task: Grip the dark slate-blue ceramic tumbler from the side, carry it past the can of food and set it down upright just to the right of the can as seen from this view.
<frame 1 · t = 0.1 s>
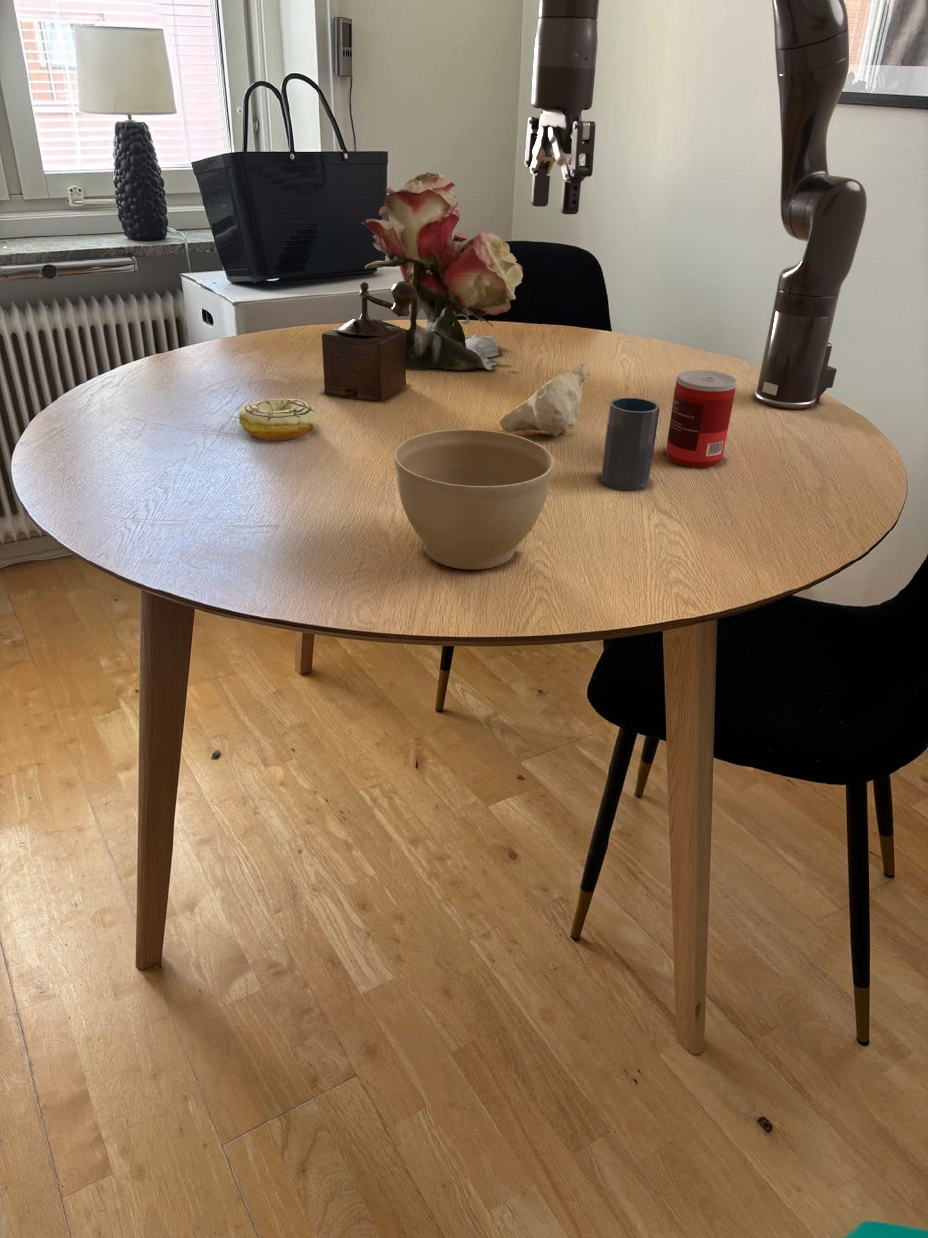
hand: (553, 209, 118), 29 cm above the table, tool pointing down, fingers open, 8 cm apart
tumbler: (624, 481, 115), on the table
manual coffee grinder: (379, 393, 145), on the table
rose bouquet: (438, 353, 168), on the table
decorated donut: (280, 432, 128), on the table
canned food: (693, 459, 124), on the table
cream rock: (549, 427, 134), on the table
planter bowl: (470, 553, 97), on the table
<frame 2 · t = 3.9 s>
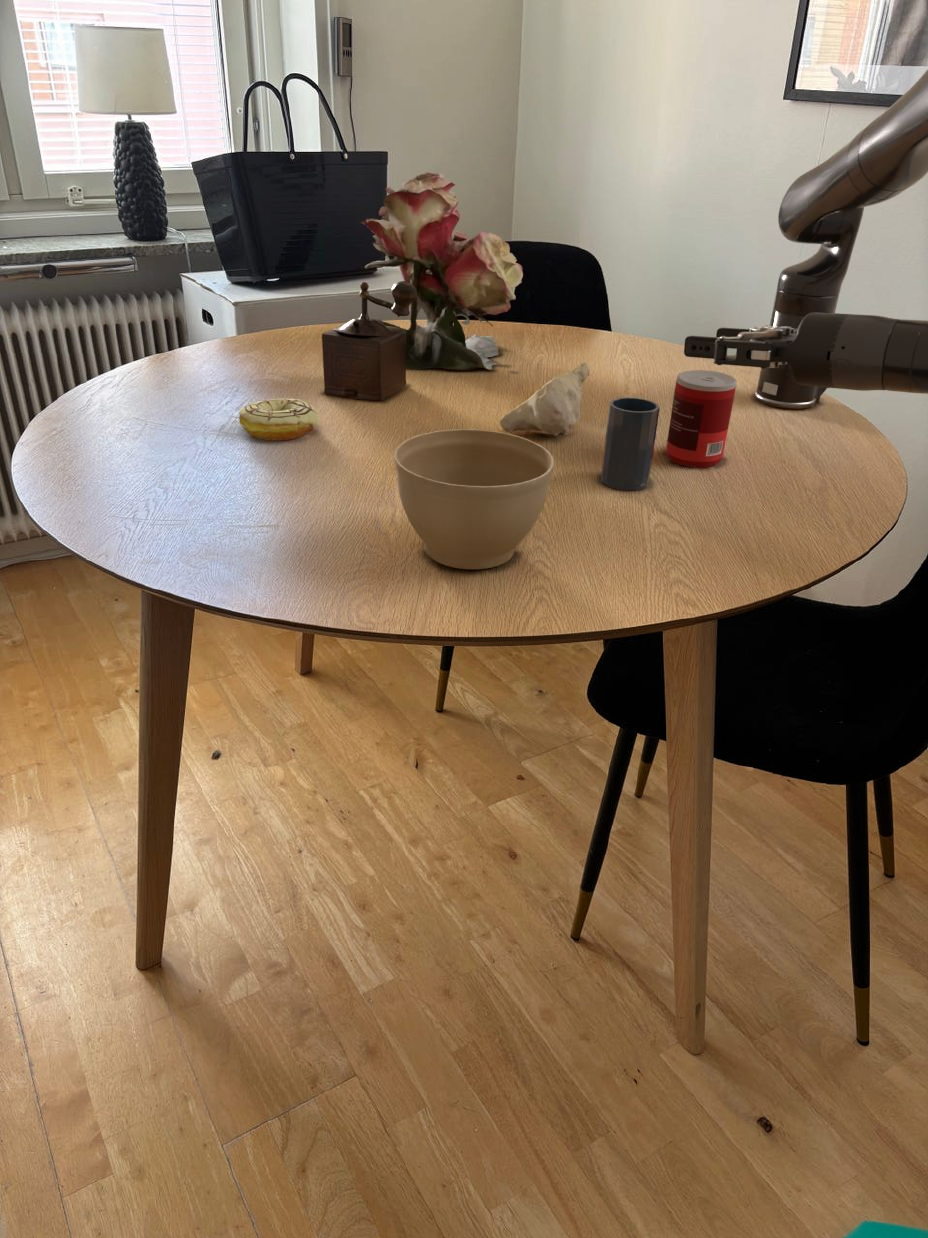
hand: (701, 341, 104), 18 cm above the table, tool horizontal, fingers open, 8 cm apart
nothing on the table moved.
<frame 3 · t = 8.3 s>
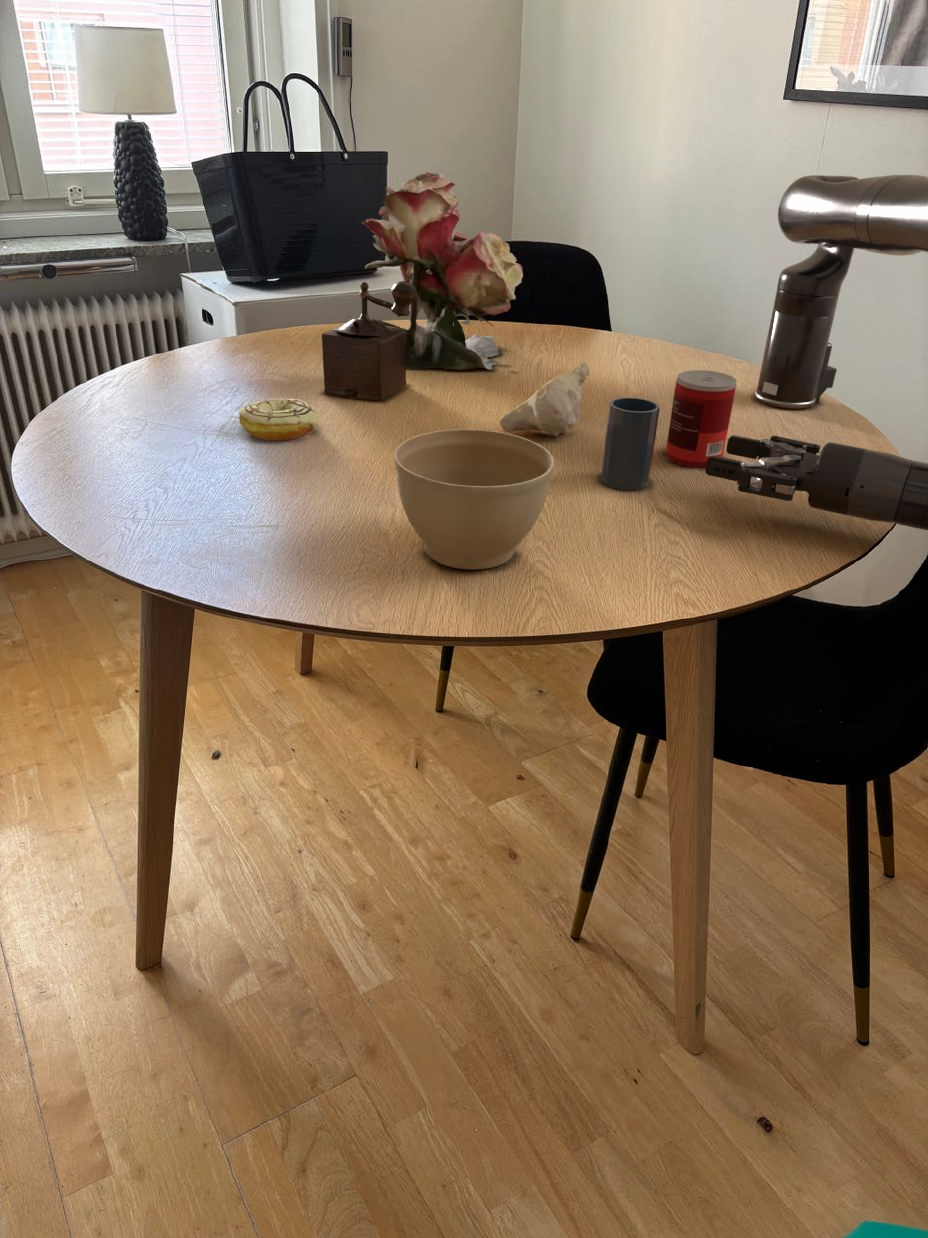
hand: (717, 453, 108), 6 cm above the table, tool horizontal, fingers open, 8 cm apart
nothing on the table moved.
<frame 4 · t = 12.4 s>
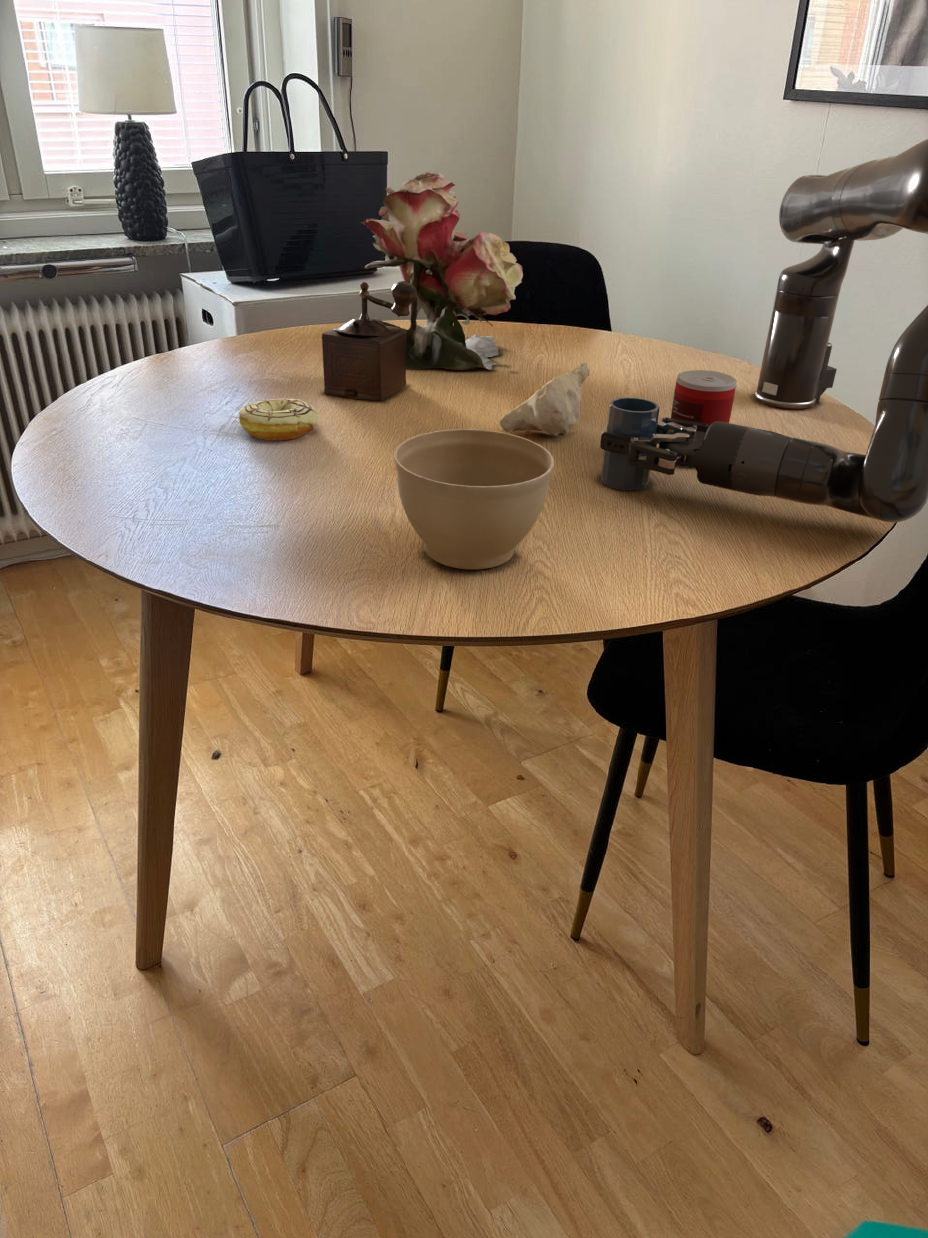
hand: (612, 432, 113), 6 cm above the table, tool horizontal, fingers closed on tumbler, 6 cm apart
tumbler: (624, 481, 115), on the table, touching gripper
everything else where it was.
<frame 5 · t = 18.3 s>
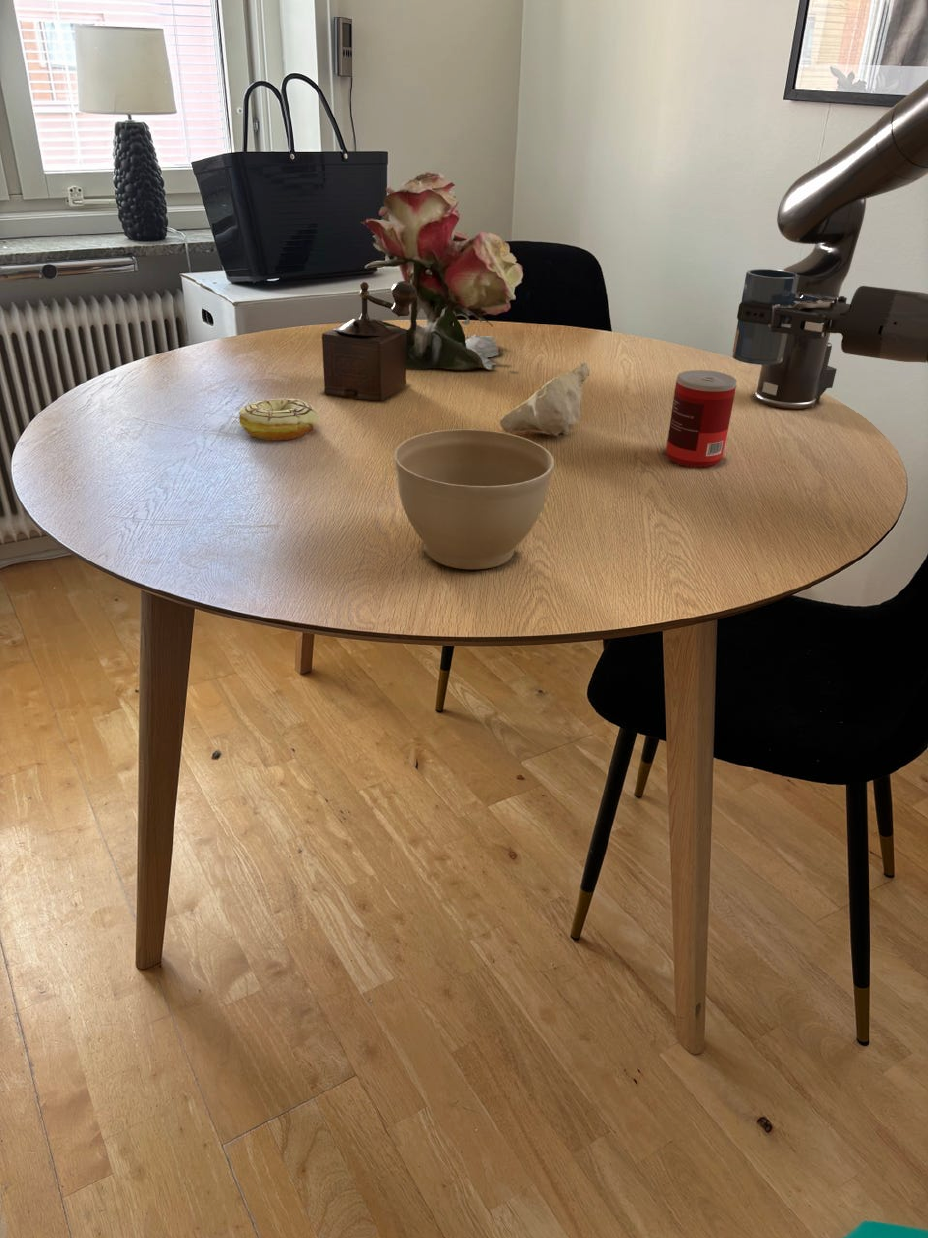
hand: (746, 305, 110), 21 cm above the table, tool horizontal, fingers closed on tumbler, 6 cm apart
tumbler: (756, 358, 112), point 15 cm above the table, touching gripper
everything else where it was.
when the fingers open (6 cm above the table, at t = 24.3 s): tumbler stays where it is, on the table.
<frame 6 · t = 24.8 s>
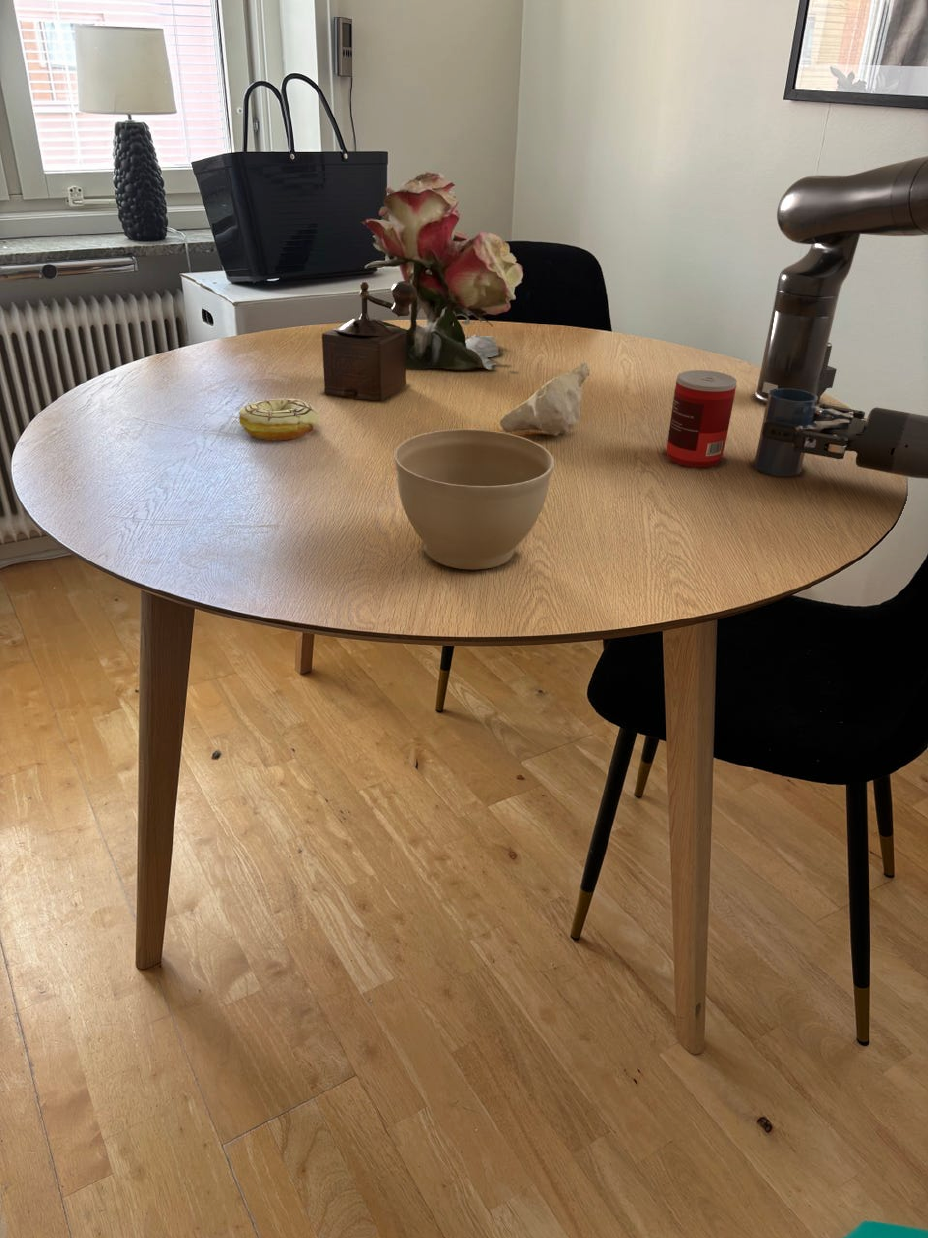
hand: (771, 419, 119), 6 cm above the table, tool horizontal, fingers open, 8 cm apart
tumbler: (777, 468, 121), on the table
everything else where it was.
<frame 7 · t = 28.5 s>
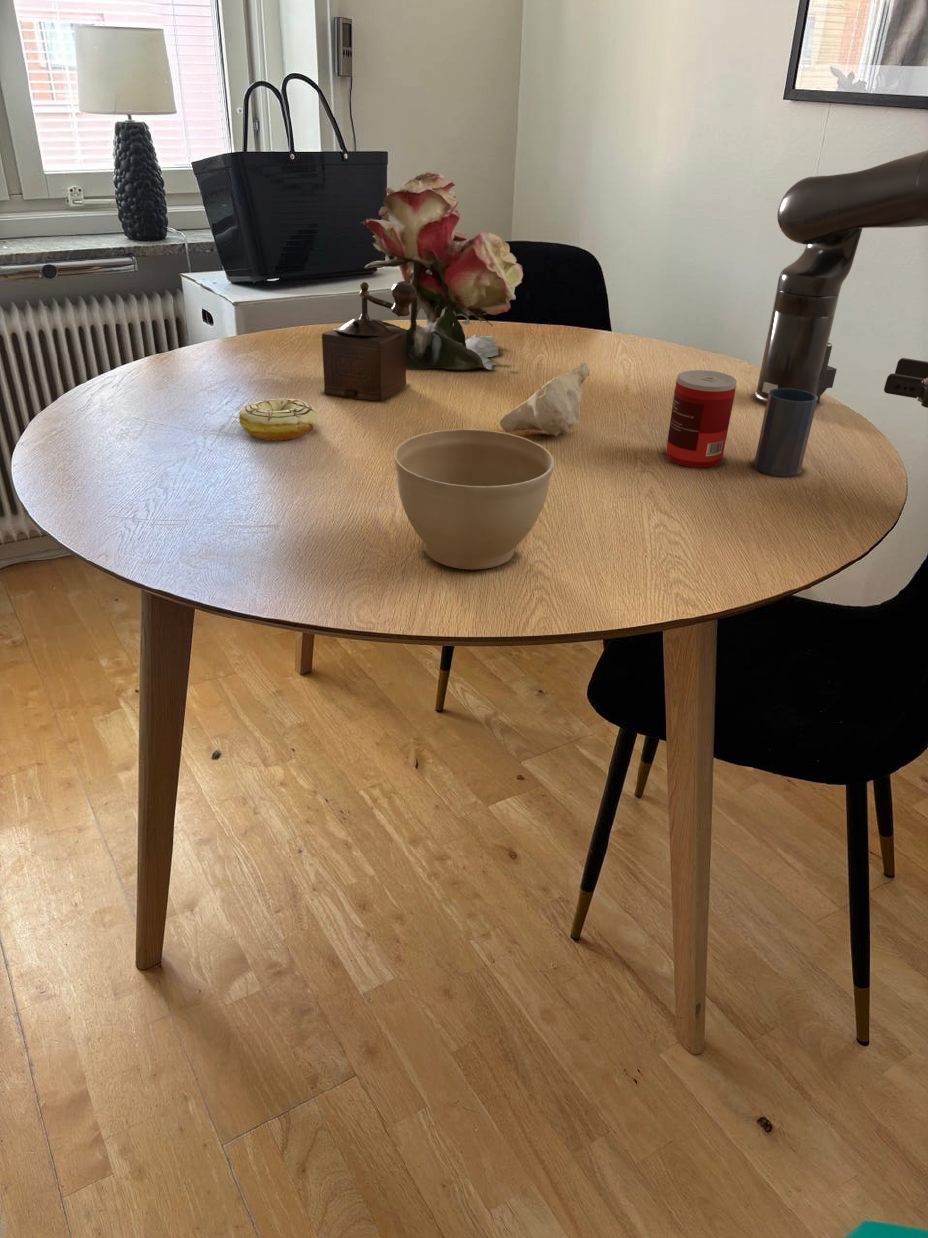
hand: (891, 374, 109), 14 cm above the table, tool horizontal, fingers open, 8 cm apart
nothing on the table moved.
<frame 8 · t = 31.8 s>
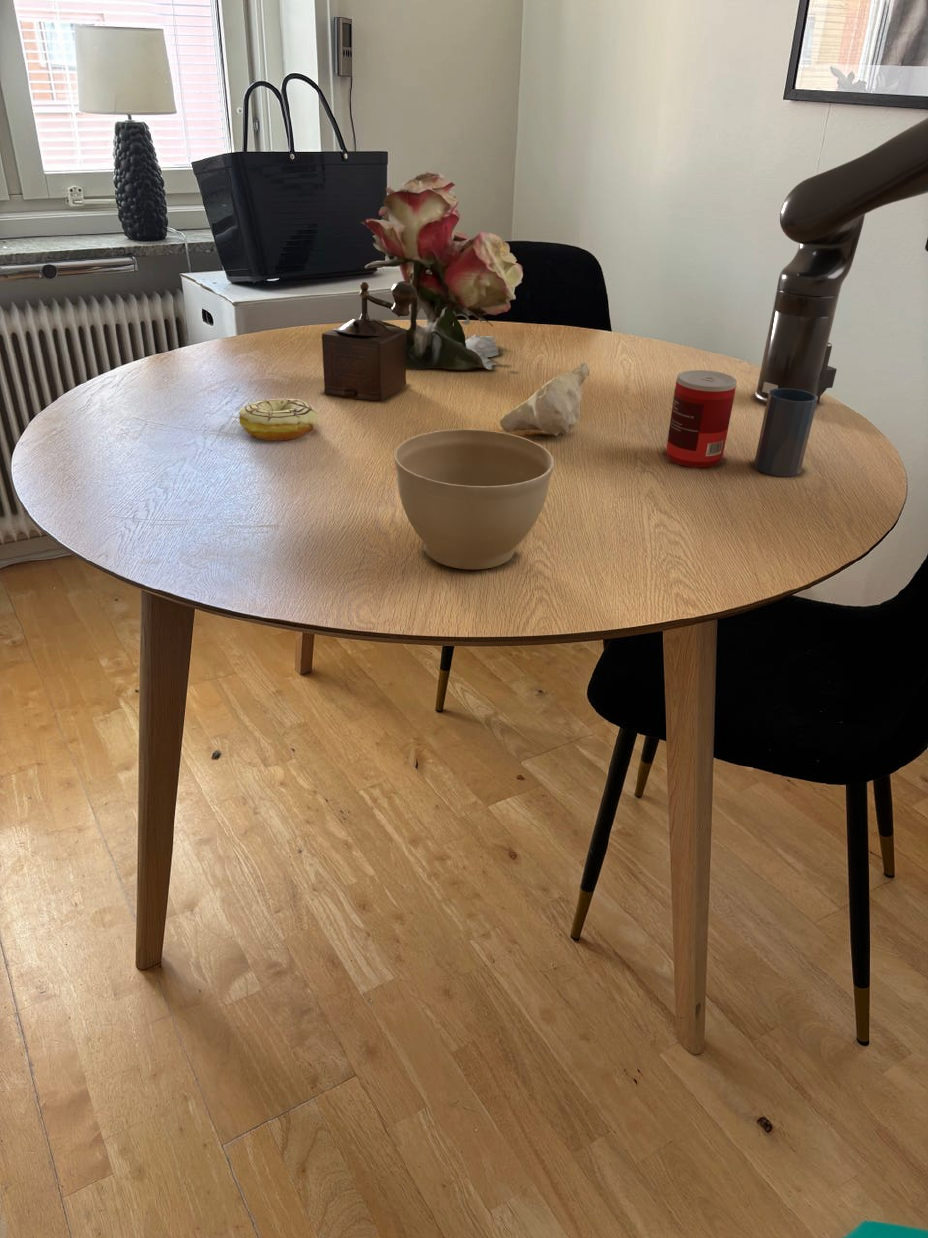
nothing on the table moved.
at the end: tumbler inside the target area on the table beside the canned food (0.2 cm from its centre), on the table; tumbler tilted 0°; canned food moved 0.2 cm from its start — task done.
